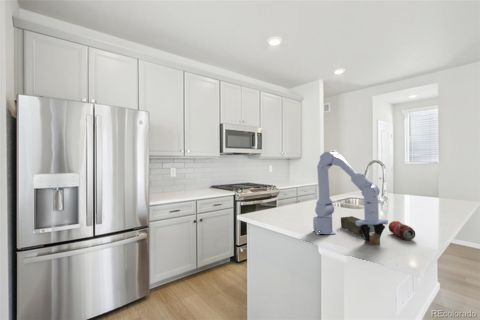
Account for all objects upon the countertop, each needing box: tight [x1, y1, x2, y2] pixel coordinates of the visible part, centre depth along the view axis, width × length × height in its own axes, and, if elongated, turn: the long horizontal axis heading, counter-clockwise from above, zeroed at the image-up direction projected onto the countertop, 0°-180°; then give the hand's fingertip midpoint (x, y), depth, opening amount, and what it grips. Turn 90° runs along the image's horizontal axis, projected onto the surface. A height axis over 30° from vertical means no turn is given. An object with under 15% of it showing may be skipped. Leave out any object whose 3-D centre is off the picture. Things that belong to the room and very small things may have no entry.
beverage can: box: [388, 220, 416, 241], centre depth 116 cm, size 7×12×7 cm, turn 175°
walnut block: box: [364, 232, 381, 246], centre depth 109 cm, size 4×4×4 cm
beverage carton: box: [340, 215, 375, 238], centre depth 127 cm, size 8×19×7 cm, turn 9°
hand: (372, 240), depth 109 cm, fingers closed on walnut block, 4 cm apart
